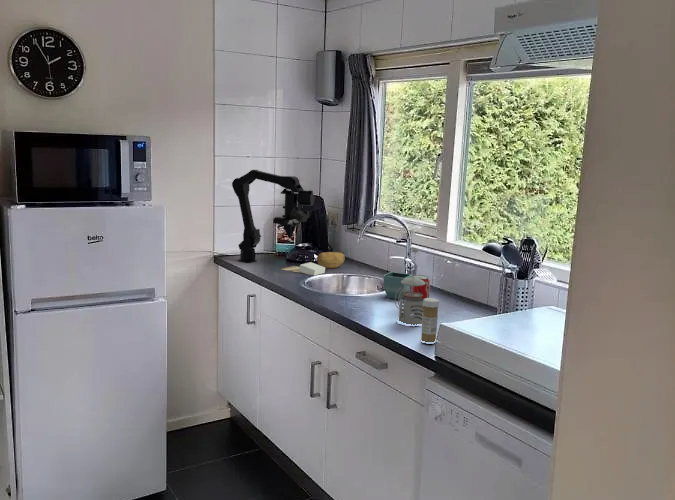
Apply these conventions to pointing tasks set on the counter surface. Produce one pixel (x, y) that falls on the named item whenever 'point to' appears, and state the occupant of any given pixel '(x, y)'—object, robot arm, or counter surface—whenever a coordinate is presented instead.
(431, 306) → the sprinkles bottle
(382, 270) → the counter surface
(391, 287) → the flower pot
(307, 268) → the tile
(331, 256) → the potato
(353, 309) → the counter surface
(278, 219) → the robot arm
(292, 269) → the board
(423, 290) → the soda can
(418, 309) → the french press
